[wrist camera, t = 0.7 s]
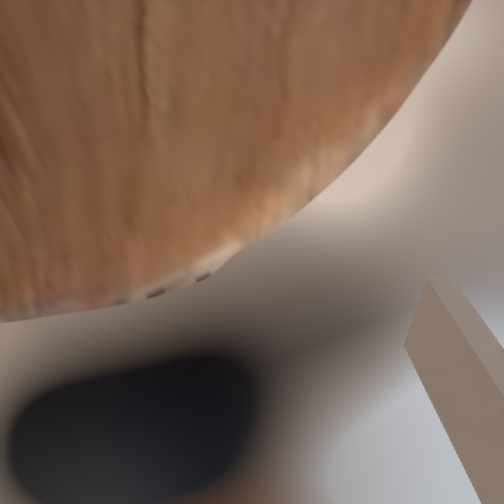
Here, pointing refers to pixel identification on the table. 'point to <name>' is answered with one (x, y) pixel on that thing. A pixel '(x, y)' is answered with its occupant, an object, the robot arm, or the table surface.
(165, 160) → the table surface
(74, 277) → the table surface
